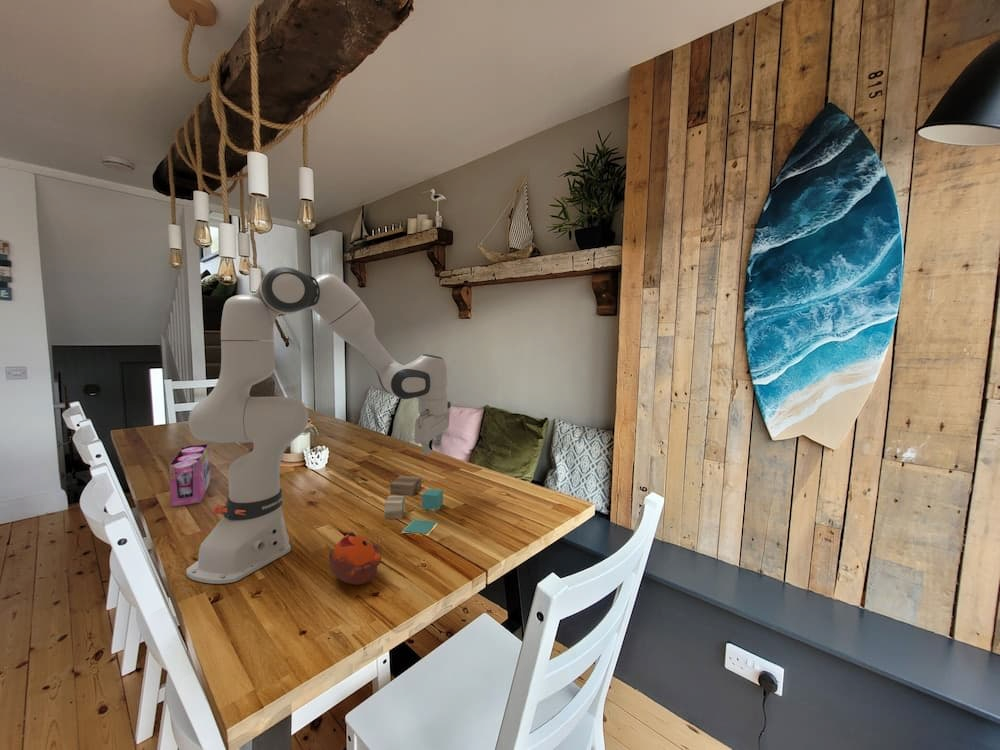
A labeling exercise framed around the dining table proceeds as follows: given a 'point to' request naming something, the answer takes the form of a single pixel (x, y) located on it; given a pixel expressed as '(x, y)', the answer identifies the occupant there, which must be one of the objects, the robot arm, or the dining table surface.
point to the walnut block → (405, 485)
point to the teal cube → (432, 499)
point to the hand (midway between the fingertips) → (432, 449)
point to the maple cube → (394, 506)
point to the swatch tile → (419, 526)
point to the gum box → (189, 475)
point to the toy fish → (355, 559)
